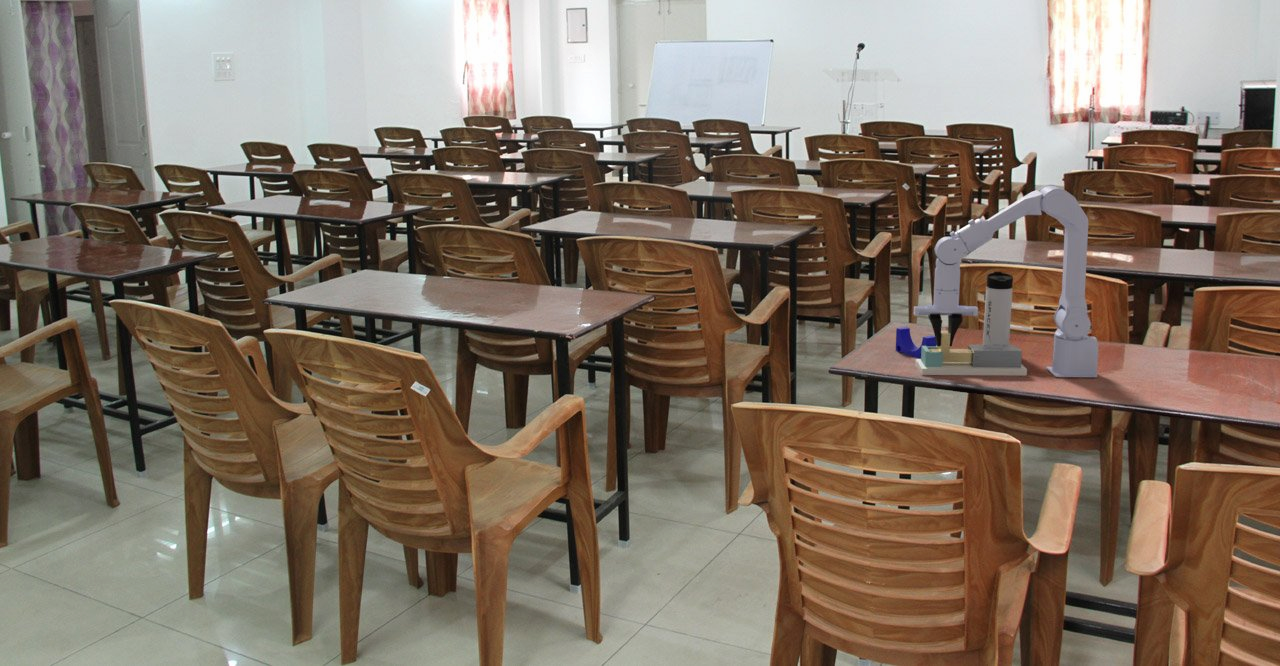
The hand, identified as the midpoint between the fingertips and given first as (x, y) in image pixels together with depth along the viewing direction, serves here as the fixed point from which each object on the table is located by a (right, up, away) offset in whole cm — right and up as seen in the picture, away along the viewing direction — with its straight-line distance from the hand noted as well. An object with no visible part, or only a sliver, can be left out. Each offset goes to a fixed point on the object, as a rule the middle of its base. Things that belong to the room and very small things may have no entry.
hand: (943, 345), depth 264 cm
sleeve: (+12, -4, 0) cm, 13 cm away
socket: (-3, -4, +1) cm, 5 cm away
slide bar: (+4, -4, +1) cm, 5 cm away
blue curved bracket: (-2, -3, +16) cm, 16 cm away
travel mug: (+18, -2, +17) cm, 25 cm away
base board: (+6, -6, +1) cm, 9 cm away
